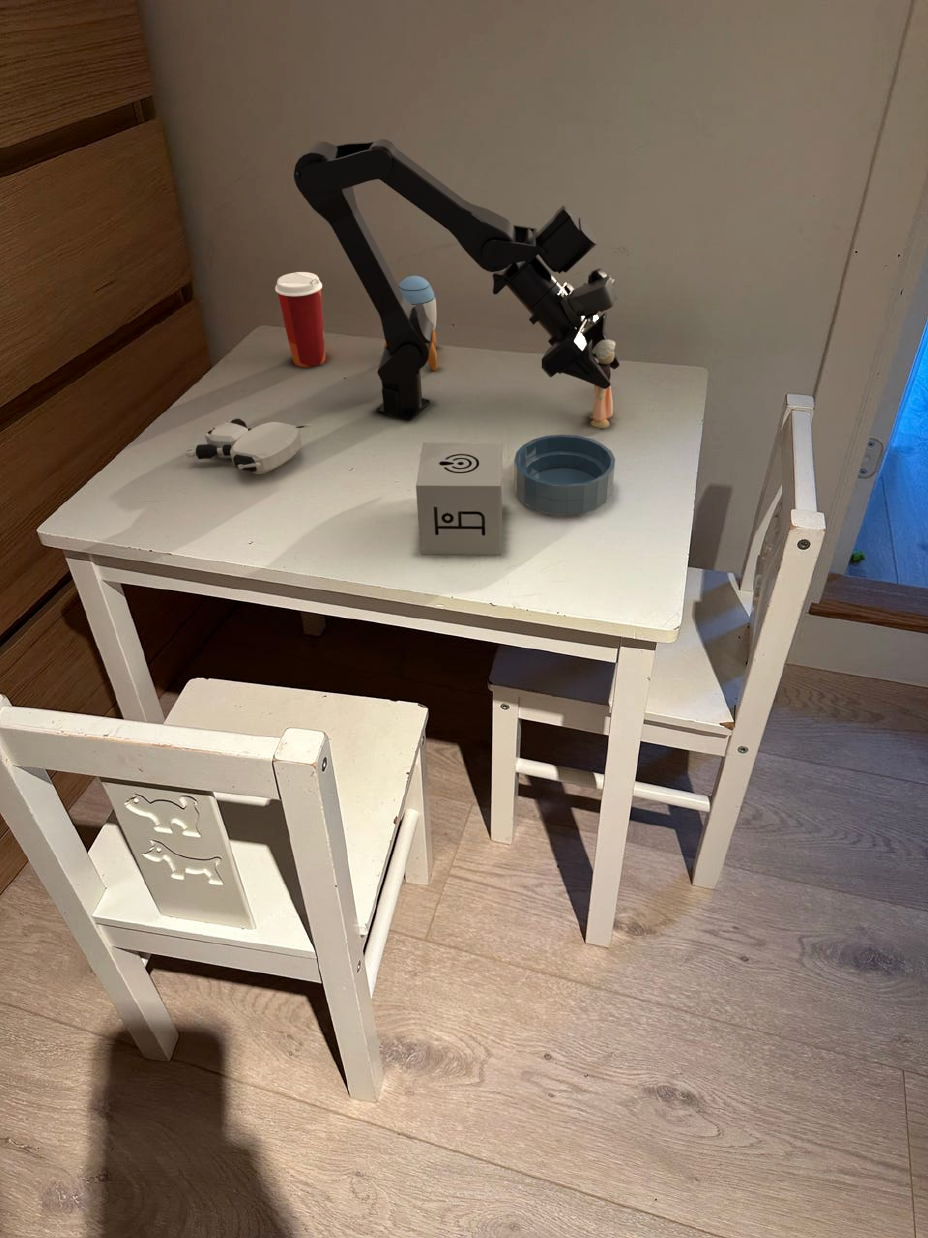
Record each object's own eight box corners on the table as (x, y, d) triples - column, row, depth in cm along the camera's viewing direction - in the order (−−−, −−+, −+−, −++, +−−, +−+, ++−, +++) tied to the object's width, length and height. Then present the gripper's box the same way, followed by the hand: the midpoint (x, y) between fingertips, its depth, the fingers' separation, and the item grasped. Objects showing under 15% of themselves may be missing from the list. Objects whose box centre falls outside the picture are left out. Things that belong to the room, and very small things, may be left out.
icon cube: (420, 553, 111) (415, 485, 104) (426, 508, 119) (422, 442, 112) (500, 554, 110) (501, 486, 104) (502, 509, 118) (502, 442, 111)
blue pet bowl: (538, 457, 128) (539, 426, 125) (625, 479, 123) (629, 447, 120) (497, 503, 119) (497, 471, 116) (589, 528, 114) (592, 495, 111)
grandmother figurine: (617, 430, 133) (625, 350, 125) (592, 432, 133) (599, 351, 125) (606, 406, 139) (613, 327, 131) (582, 408, 139) (588, 329, 130)
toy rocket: (449, 375, 151) (429, 295, 139) (388, 386, 152) (363, 308, 141) (448, 342, 157) (429, 262, 146) (390, 353, 159) (367, 275, 148)
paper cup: (339, 354, 156) (330, 274, 146) (316, 373, 150) (304, 290, 141) (302, 347, 158) (290, 268, 149) (277, 365, 153) (263, 283, 144)
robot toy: (185, 473, 128) (268, 489, 122) (176, 444, 126) (261, 460, 120) (238, 434, 137) (318, 448, 131) (230, 407, 134) (312, 420, 128)
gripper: (568, 281, 115) (644, 372, 119) (598, 235, 128) (666, 318, 132) (509, 334, 122) (583, 417, 126) (543, 285, 135) (609, 362, 140)
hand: (612, 376), depth 131 cm, fingers closed on grandmother figurine, 6 cm apart
